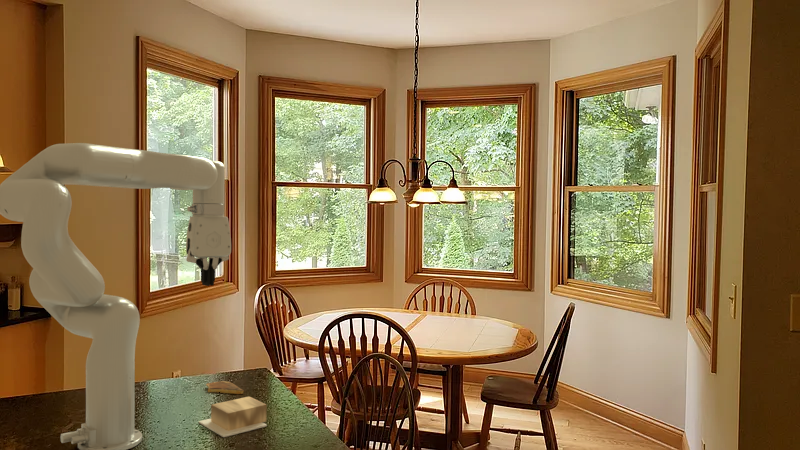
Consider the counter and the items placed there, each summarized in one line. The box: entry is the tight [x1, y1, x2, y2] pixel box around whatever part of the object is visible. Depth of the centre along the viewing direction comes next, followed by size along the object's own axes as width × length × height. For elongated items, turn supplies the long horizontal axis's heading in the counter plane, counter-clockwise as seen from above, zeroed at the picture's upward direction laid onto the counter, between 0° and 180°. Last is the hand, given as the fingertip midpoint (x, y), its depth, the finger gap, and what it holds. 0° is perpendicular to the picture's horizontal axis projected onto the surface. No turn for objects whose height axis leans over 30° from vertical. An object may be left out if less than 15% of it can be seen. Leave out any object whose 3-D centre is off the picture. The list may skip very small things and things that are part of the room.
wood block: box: [210, 395, 268, 431], centre depth 154 cm, size 4×8×10 cm
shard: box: [205, 380, 245, 395], centre depth 178 cm, size 11×8×2 cm
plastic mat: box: [198, 417, 268, 438], centre depth 153 cm, size 11×12×1 cm
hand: (207, 284), depth 162 cm, fingers closed
